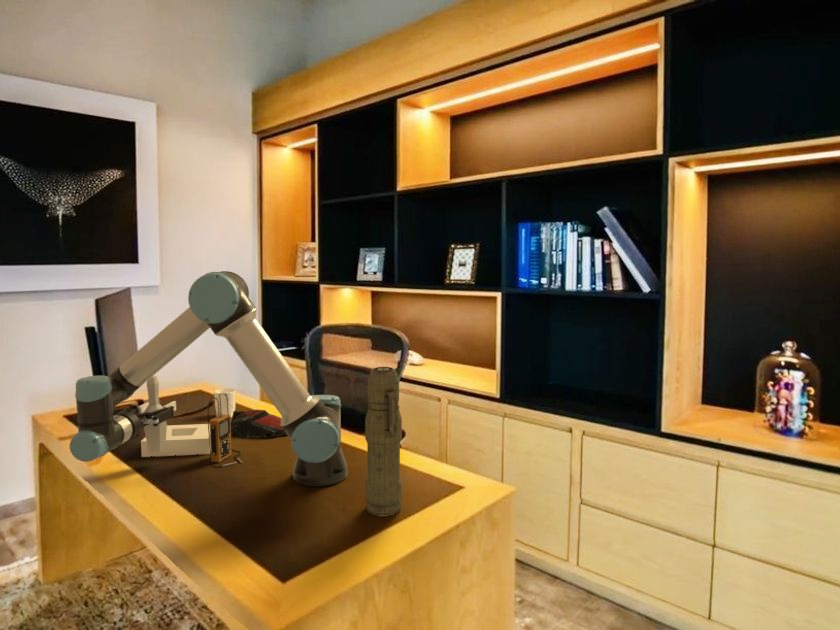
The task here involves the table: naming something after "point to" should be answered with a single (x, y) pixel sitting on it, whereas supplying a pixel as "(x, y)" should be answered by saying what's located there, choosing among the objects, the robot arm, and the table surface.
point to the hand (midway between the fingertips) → (162, 405)
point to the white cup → (225, 401)
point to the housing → (182, 441)
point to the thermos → (383, 442)
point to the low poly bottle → (152, 433)
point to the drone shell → (256, 424)
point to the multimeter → (220, 436)
